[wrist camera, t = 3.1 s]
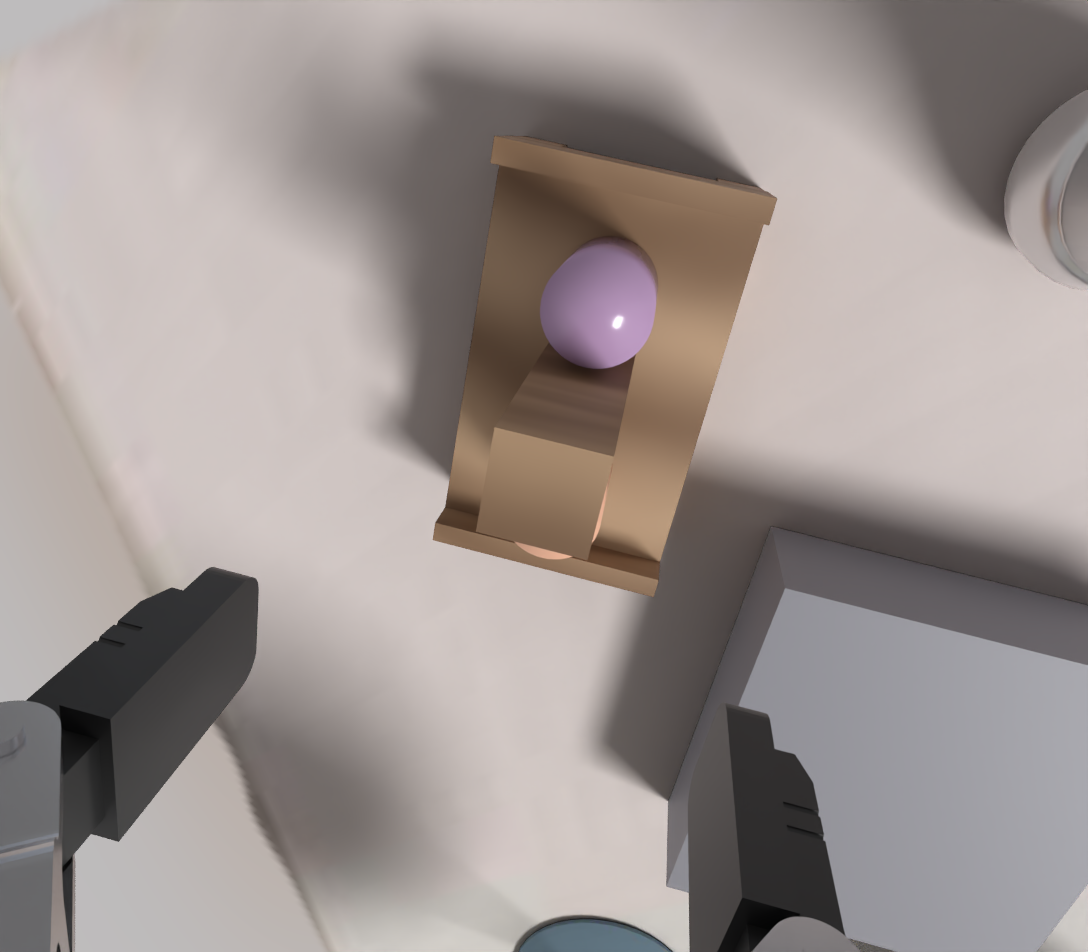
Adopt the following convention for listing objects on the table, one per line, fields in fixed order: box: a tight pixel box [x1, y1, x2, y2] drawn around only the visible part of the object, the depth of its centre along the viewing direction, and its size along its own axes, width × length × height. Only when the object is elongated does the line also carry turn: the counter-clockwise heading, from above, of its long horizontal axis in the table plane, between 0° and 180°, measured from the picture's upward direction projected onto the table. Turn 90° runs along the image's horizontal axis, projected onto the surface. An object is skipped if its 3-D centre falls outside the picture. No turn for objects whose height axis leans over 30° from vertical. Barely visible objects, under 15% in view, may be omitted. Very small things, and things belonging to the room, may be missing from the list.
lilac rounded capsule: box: [540, 236, 658, 369], centre depth 25 cm, size 3×3×4 cm
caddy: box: [433, 136, 777, 597], centre depth 25 cm, size 15×9×14 cm, turn 169°
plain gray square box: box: [666, 526, 1088, 952], centre depth 34 cm, size 17×16×5 cm
